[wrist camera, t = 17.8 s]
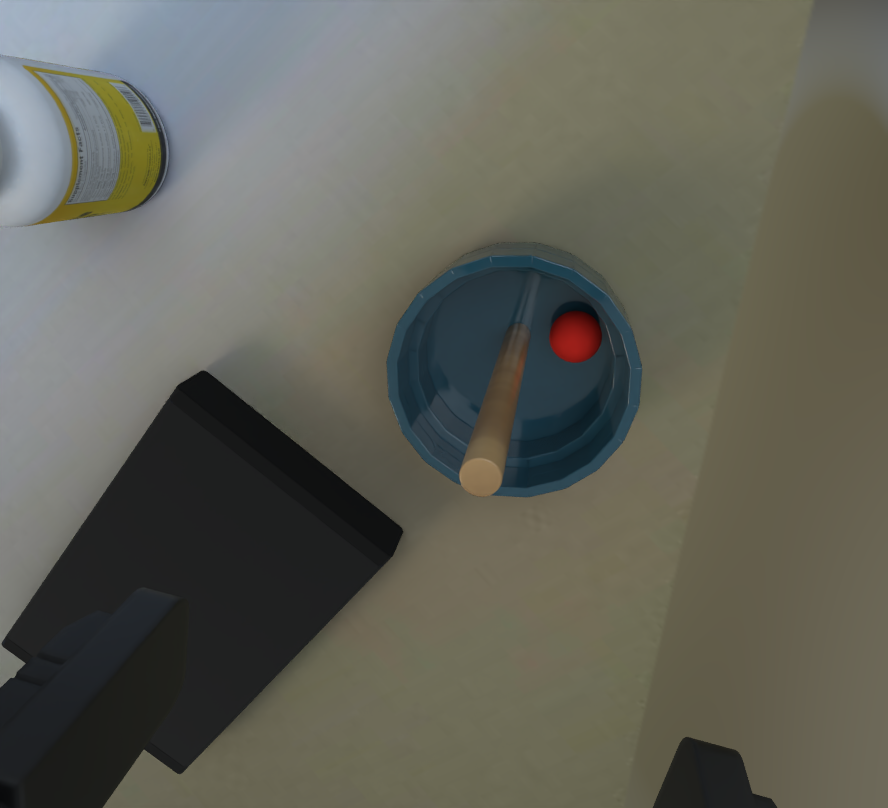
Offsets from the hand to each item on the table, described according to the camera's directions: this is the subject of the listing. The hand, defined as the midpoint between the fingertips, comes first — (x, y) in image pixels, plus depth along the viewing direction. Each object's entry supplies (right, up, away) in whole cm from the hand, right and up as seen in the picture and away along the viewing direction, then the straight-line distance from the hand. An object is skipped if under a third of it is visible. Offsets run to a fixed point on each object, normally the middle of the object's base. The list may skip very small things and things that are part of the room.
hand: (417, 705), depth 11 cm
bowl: (+4, +7, +24) cm, 25 cm away
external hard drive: (-14, -6, +32) cm, 36 cm away
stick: (+4, +8, +23) cm, 25 cm away
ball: (+6, +8, +21) cm, 23 cm away
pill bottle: (-16, +18, +24) cm, 34 cm away
